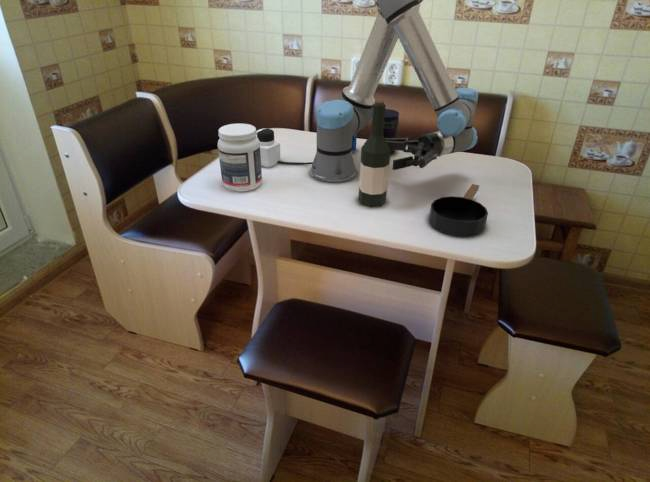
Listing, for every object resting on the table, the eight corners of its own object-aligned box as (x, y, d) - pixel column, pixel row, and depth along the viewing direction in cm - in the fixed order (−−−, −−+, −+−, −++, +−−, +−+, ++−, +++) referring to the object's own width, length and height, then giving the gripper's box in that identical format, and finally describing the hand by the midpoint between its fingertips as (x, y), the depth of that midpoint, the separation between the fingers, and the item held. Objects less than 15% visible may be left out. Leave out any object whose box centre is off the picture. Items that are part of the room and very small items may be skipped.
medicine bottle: (281, 161, 163) (279, 129, 157) (268, 168, 158) (266, 134, 152) (265, 157, 166) (263, 125, 160) (252, 163, 161) (250, 130, 155)
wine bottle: (384, 208, 134) (393, 106, 118) (356, 205, 135) (362, 104, 119) (386, 196, 141) (396, 98, 125) (360, 193, 142) (366, 96, 126)
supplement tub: (245, 173, 154) (241, 119, 145) (270, 184, 147) (267, 129, 137) (214, 184, 146) (207, 128, 137) (238, 197, 139) (233, 139, 129)
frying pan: (476, 242, 118) (480, 227, 116) (421, 227, 125) (423, 213, 122) (497, 203, 138) (501, 189, 135) (449, 192, 144) (451, 178, 141)
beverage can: (350, 154, 170) (352, 123, 164) (335, 151, 173) (336, 120, 166) (358, 149, 175) (360, 118, 168) (344, 146, 177) (345, 116, 171)
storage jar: (365, 153, 171) (368, 114, 163) (374, 145, 179) (377, 107, 171) (391, 158, 168) (395, 118, 160) (398, 149, 175) (402, 111, 167)
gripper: (461, 170, 133) (405, 185, 124) (407, 144, 151) (354, 155, 142) (466, 145, 129) (408, 159, 120) (410, 122, 147) (355, 132, 138)
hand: (379, 157), depth 131 cm, fingers open, 13 cm apart
